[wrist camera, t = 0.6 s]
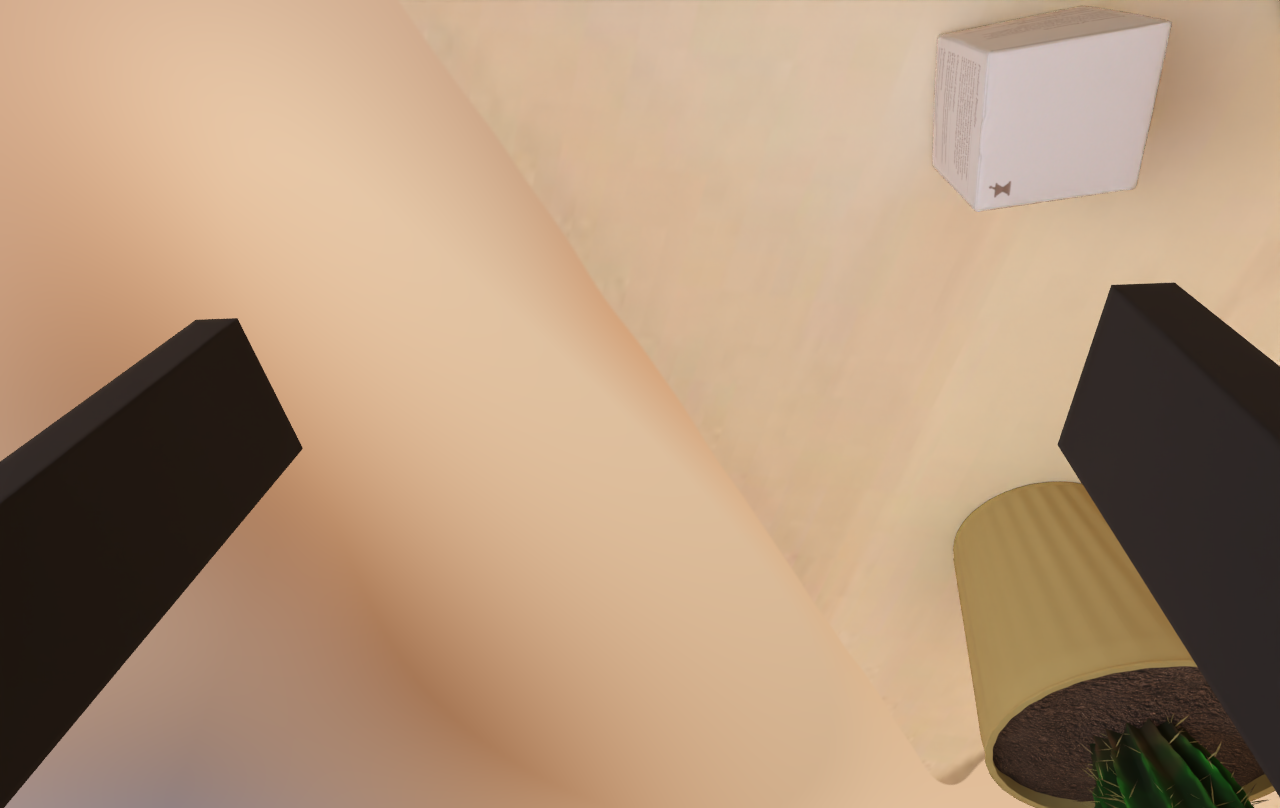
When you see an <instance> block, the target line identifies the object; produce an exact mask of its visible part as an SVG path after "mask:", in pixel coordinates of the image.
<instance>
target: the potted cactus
mask: <svg viewBox="0 0 1280 808" xmlns="http://www.w3.org/2000/svg"><path fill="white" fill-rule="evenodd" d="M953 551H954V565H955V572H956V578H957V585H958V591H959V597H960V604H961V610H962V616H963V623H964V629H965V636H966V642H967V649H968V655H969V661H970V668H971V674H972V681H973V687H974V694H975V700H976V707H977V714H978V721H979V728H980V734H981V740H982V743H983V747H984V751H985V762H986V766H987V768H988V770H989V773H990V775H991V777H992V778H993V779H994V781H996V783H997V784H998V785H999V786H1000V787H1001V788H1002V789H1003V790H1004V791H1006V792H1007V793H1009V794H1010V795H1012V796H1013V797H1014V798H1016V799H1018V800H1019V801H1022V802H1024V803H1026V804H1028V805H1030V806H1033V807H1035V808H1254V807H1253V805H1254V804H1252V805H1251V803H1253V802H1250V801H1253V800H1256V799H1258V798H1261V797H1263V796H1265V795H1268V794H1270V793H1272V792H1274V791H1276V790H1275V789H1274V787H1273V786H1272V784H1271V783H1270V781H1269V779H1268V778H1267V776H1266V775H1265V773H1264V771H1263V770H1262V768H1261V767H1260V765H1259V764H1258V762H1257V760H1256V759H1255V757H1254V756H1253V754H1252V752H1251V751H1250V749H1249V748H1248V746H1247V744H1246V743H1245V741H1244V740H1243V738H1242V737H1241V735H1240V733H1239V732H1238V730H1237V729H1236V727H1235V725H1234V724H1233V722H1232V721H1231V719H1230V718H1229V716H1228V714H1227V713H1226V711H1225V710H1224V708H1223V706H1222V705H1221V703H1220V702H1219V700H1218V698H1217V697H1216V695H1215V694H1214V692H1213V691H1212V689H1211V687H1210V686H1209V684H1208V683H1207V681H1206V679H1205V678H1204V676H1203V675H1202V673H1201V672H1200V670H1199V668H1198V667H1197V665H1196V664H1195V662H1194V660H1193V659H1192V657H1191V656H1190V654H1189V652H1188V651H1187V649H1186V648H1185V646H1184V645H1183V643H1182V641H1181V640H1180V638H1179V637H1178V635H1177V633H1176V632H1175V630H1174V629H1173V627H1172V626H1171V624H1170V622H1169V621H1168V619H1167V618H1166V616H1165V614H1164V613H1163V611H1162V610H1161V608H1160V606H1159V605H1158V603H1157V602H1156V600H1155V599H1154V597H1153V595H1152V594H1151V592H1150V591H1149V589H1148V587H1147V586H1146V584H1145V583H1144V581H1143V580H1142V578H1141V576H1140V575H1139V573H1138V572H1137V570H1136V568H1135V567H1134V565H1133V564H1132V562H1131V560H1130V559H1129V557H1128V556H1127V554H1126V553H1125V551H1124V549H1123V548H1122V546H1121V545H1120V543H1119V541H1118V540H1117V538H1116V537H1115V535H1114V534H1113V532H1112V530H1111V529H1110V527H1109V526H1108V524H1107V522H1106V521H1105V519H1104V518H1103V516H1102V514H1101V513H1100V511H1099V510H1098V508H1097V507H1096V505H1095V503H1094V502H1093V500H1092V499H1091V497H1090V495H1089V494H1088V492H1087V491H1086V489H1085V487H1084V486H1083V484H1078V483H1072V482H1046V483H1037V484H1031V485H1027V486H1023V487H1019V488H1016V489H1013V490H1010V491H1007V492H1005V493H1002V494H1000V495H998V496H996V497H994V498H992V499H991V500H989V501H987V502H985V503H984V504H982V505H981V506H980V507H978V508H977V509H976V510H975V511H974V512H972V513H971V514H970V515H969V516H968V518H967V519H966V520H965V521H964V522H963V524H962V525H961V527H960V528H959V530H958V532H957V534H956V537H955V541H954V548H953ZM1262 801H1267V800H1262ZM1255 802H1259V803H1261V801H1255ZM1255 804H1258V803H1255Z"/></svg>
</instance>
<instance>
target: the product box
mask: <svg viewBox="0 0 1280 808" xmlns="http://www.w3.org/2000/svg"><path fill="white" fill-rule="evenodd" d="M1171 26H1172V22H1171V21H1169V20H1164V19H1159V18H1153V17H1149V16H1144V15H1138V14H1133V13H1127V12H1121V11H1115V10H1109V9H1102V8H1096V7H1090V6H1078V7H1073V8H1068V9H1063V10H1058V11H1053V12H1048V13H1043V14H1038V15H1034V16H1029V17H1024V18H1019V19H1014V20H1009V21H1004V22H1000V23H995V24H990V25H985V26H980V27H976V28H971V29H966V30H961V31H956V32H951V33H946V34H941V35H939V36H938V38H937V55H936V74H935V96H934V124H933V161H932V164H933V167H934V168H935V169H936V170H937V171H938V172H939V173H940V174H941V175H942V176H943V178H944V179H945V180H946V181H947V182H948V183H949V184H950V185H951V186H952V187H953V188H954V189H955V190H956V191H957V192H958V193H959V194H960V195H961V197H962V198H963V199H964V200H965V201H966V202H967V203H968V204H969V205H970V206H971V207H972V208H973V209H974V210H975V211H977V212H980V211H986V210H993V209H1000V208H1007V207H1014V206H1020V205H1027V204H1034V203H1041V202H1048V201H1055V200H1062V199H1069V198H1076V197H1082V196H1089V195H1096V194H1103V193H1109V192H1116V191H1123V190H1131V189H1134V188H1135V187H1136V186H1137V182H1138V177H1139V172H1140V167H1141V162H1142V158H1143V154H1144V149H1145V145H1146V140H1147V136H1148V132H1149V127H1150V122H1151V118H1152V114H1153V109H1154V104H1155V99H1156V95H1157V90H1158V86H1159V81H1160V77H1161V72H1162V67H1163V63H1164V58H1165V53H1166V48H1167V44H1168V39H1169V35H1170V30H1171Z"/></svg>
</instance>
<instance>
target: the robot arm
mask: <svg viewBox="0 0 1280 808" xmlns="http://www.w3.org/2000/svg"><path fill="white" fill-rule="evenodd" d="M1058 446H1059V448H1060V449H1061V451H1062V453H1063V454H1064V456H1065V457H1066V459H1067V461H1068V462H1069V464H1070V465H1071V467H1072V468H1073V470H1074V472H1075V473H1076V475H1077V476H1078V478H1079V480H1080V481H1081V483H1082V484H1083V486H1084V487H1085V489H1086V491H1087V492H1088V494H1089V495H1090V497H1091V499H1092V500H1093V502H1094V503H1095V505H1096V507H1097V508H1098V510H1099V511H1100V513H1101V514H1102V516H1103V518H1104V519H1105V521H1106V522H1107V524H1108V526H1109V527H1110V529H1111V530H1112V532H1113V534H1114V535H1115V537H1116V538H1117V540H1118V541H1119V543H1120V545H1121V546H1122V548H1123V549H1124V551H1125V553H1126V554H1127V556H1128V557H1129V559H1130V560H1131V562H1132V564H1133V565H1134V567H1135V568H1136V570H1137V572H1138V573H1139V575H1140V576H1141V578H1142V580H1143V581H1144V583H1145V584H1146V586H1147V587H1148V589H1149V591H1150V592H1151V594H1152V595H1153V597H1154V599H1155V600H1156V602H1157V603H1158V605H1159V606H1160V608H1161V610H1162V611H1163V613H1164V614H1165V616H1166V618H1167V619H1168V621H1169V622H1170V624H1171V626H1172V627H1173V629H1174V630H1175V632H1176V633H1177V635H1178V637H1179V638H1180V640H1181V641H1182V643H1183V645H1184V646H1185V648H1186V649H1187V651H1188V652H1189V654H1190V656H1191V657H1192V659H1193V660H1194V662H1195V664H1196V665H1197V667H1198V668H1199V670H1200V672H1201V673H1202V675H1203V676H1204V678H1205V679H1206V681H1207V683H1208V684H1209V686H1210V687H1211V689H1212V691H1213V692H1214V694H1215V695H1216V697H1217V698H1218V700H1219V702H1220V703H1221V705H1222V706H1223V708H1224V710H1225V711H1226V713H1227V714H1228V716H1229V718H1230V719H1231V721H1232V722H1233V724H1234V725H1235V727H1236V729H1237V730H1238V732H1239V733H1240V735H1241V737H1242V738H1243V740H1244V741H1245V743H1246V744H1247V746H1248V748H1249V749H1250V751H1251V752H1252V754H1253V756H1254V757H1255V759H1256V760H1257V762H1258V764H1259V765H1260V767H1261V768H1262V770H1263V771H1264V773H1265V775H1266V776H1267V778H1268V779H1269V781H1270V783H1271V784H1272V786H1273V787H1274V789H1275V790H1276V792H1277V794H1278V795H1279V797H1280V366H1278V365H1277V364H1276V363H1275V362H1273V361H1272V360H1271V359H1270V358H1268V357H1267V356H1266V355H1265V354H1263V353H1262V352H1261V351H1260V350H1258V349H1257V348H1256V347H1255V346H1253V345H1252V344H1251V343H1250V342H1248V341H1247V340H1246V339H1245V338H1243V337H1242V336H1241V335H1240V334H1238V333H1237V332H1236V331H1235V330H1233V329H1232V328H1231V327H1230V326H1228V325H1227V324H1226V323H1225V322H1223V321H1222V320H1221V319H1219V318H1218V317H1217V316H1216V315H1214V314H1213V313H1212V312H1211V311H1209V310H1208V309H1207V308H1206V307H1204V306H1203V305H1202V304H1201V303H1199V302H1198V301H1197V300H1196V299H1194V298H1193V297H1192V296H1191V295H1189V294H1188V293H1187V292H1186V291H1184V290H1183V289H1182V288H1181V287H1179V286H1178V285H1177V284H1176V283H1154V284H1128V285H1111V288H1110V291H1109V294H1108V297H1107V300H1106V303H1105V306H1104V309H1103V312H1102V315H1101V318H1100V321H1099V324H1098V326H1097V329H1096V332H1095V335H1094V338H1093V341H1092V344H1091V347H1090V350H1089V353H1088V356H1087V359H1086V362H1085V365H1084V368H1083V371H1082V374H1081V377H1080V380H1079V383H1078V386H1077V389H1076V392H1075V395H1074V398H1073V401H1072V404H1071V406H1070V409H1069V412H1068V415H1067V418H1066V421H1065V424H1064V427H1063V430H1062V433H1061V436H1060V439H1059V442H1058ZM301 450H302V446H301V444H300V442H299V440H298V438H297V436H296V434H295V432H294V430H293V428H292V426H291V424H290V422H289V420H288V418H287V416H286V414H285V412H284V410H283V408H282V406H281V404H280V402H279V400H278V398H277V396H276V394H275V392H274V390H273V388H272V386H271V384H270V382H269V380H268V378H267V376H266V374H265V373H264V370H263V368H262V366H261V365H260V363H259V360H258V358H257V357H256V355H255V353H254V351H253V349H252V347H251V345H250V343H249V341H248V339H247V337H246V335H245V333H244V331H243V329H242V327H241V325H240V323H239V321H238V319H237V318H235V319H208V320H195V321H194V322H192V323H191V324H190V325H188V326H187V327H186V328H184V329H183V330H181V331H180V332H179V333H177V334H176V335H175V336H173V337H172V338H170V339H169V340H168V341H166V342H165V343H164V344H162V345H161V346H159V347H158V348H157V349H155V350H154V351H152V352H151V353H150V354H148V355H147V356H146V357H144V358H143V359H141V360H140V361H139V362H137V363H136V364H135V365H133V366H132V367H130V368H129V369H128V370H126V371H125V372H123V373H122V374H121V375H120V376H118V377H117V378H115V379H114V380H113V381H111V382H110V383H108V384H107V385H106V386H104V387H103V388H102V389H100V390H99V391H97V392H96V393H95V394H93V395H92V396H90V397H89V398H88V399H86V400H85V401H84V402H82V403H81V404H79V405H78V406H77V407H75V408H74V409H72V410H71V411H70V412H68V413H67V414H66V415H64V416H63V417H61V418H60V419H59V420H57V421H56V422H54V423H53V424H52V425H50V426H49V427H48V428H46V429H45V430H43V431H42V432H41V433H40V434H38V435H36V436H35V437H34V438H33V439H31V440H30V441H28V442H27V443H25V444H24V445H23V446H21V447H20V448H19V449H17V450H16V451H15V452H13V453H12V454H10V455H9V456H7V457H6V458H5V459H3V460H2V461H1V462H0V808H4V807H5V806H6V805H7V803H8V802H9V801H10V800H11V798H12V797H13V796H14V795H15V794H16V793H17V791H18V790H19V789H20V788H21V787H22V785H23V784H24V783H25V782H26V781H27V779H28V778H29V777H30V776H31V774H32V773H33V772H34V771H35V770H36V769H37V767H38V766H39V765H40V764H41V763H42V761H43V760H44V759H45V757H47V755H48V754H49V753H50V752H51V751H52V749H53V748H54V747H55V746H56V745H57V743H58V742H59V741H60V740H61V739H62V737H63V736H64V735H65V734H66V732H67V731H68V730H69V729H70V728H71V726H72V725H73V724H74V723H75V722H76V721H77V719H78V718H79V717H80V716H81V715H82V713H83V712H84V711H85V710H86V709H87V707H88V706H89V705H90V704H91V702H92V701H93V700H94V699H95V698H96V696H97V695H98V694H99V693H100V692H101V690H102V689H103V688H104V687H105V686H106V684H107V683H108V682H109V681H110V680H111V678H112V677H113V676H114V675H115V674H116V672H117V671H118V670H119V669H120V668H121V666H122V665H123V664H124V663H125V661H126V660H127V659H128V658H129V657H130V656H131V654H132V653H133V652H134V650H136V648H137V647H138V646H139V645H140V644H141V642H142V641H143V640H144V638H146V636H147V635H148V634H149V633H150V631H151V630H152V629H153V628H154V627H155V626H156V624H157V623H158V622H159V621H160V620H161V618H162V617H163V616H164V615H165V614H166V612H167V611H168V610H169V609H170V608H171V606H172V605H173V604H174V603H175V601H176V600H177V599H178V598H179V597H180V595H181V594H182V593H183V592H184V591H185V589H186V588H187V587H188V586H189V584H190V583H191V582H192V581H193V580H194V579H195V577H196V576H197V575H198V574H199V573H200V571H201V570H202V569H203V568H204V567H205V565H206V564H207V563H208V562H209V560H210V559H211V558H212V557H213V556H214V555H215V553H216V552H217V551H218V550H219V549H220V547H221V546H222V545H223V544H224V543H225V541H226V540H227V539H228V538H229V536H230V535H231V534H232V533H233V532H234V531H235V529H236V528H237V527H238V526H239V525H240V523H241V522H242V521H243V520H244V519H245V517H246V516H247V515H248V514H249V513H250V511H251V510H252V509H253V508H254V507H255V505H256V504H257V503H258V502H259V500H260V499H261V498H262V497H263V496H264V494H265V493H266V492H267V491H268V490H269V488H270V487H271V486H272V485H273V484H274V482H275V481H276V480H277V479H278V478H279V476H280V475H281V474H282V473H283V472H284V470H285V469H286V468H287V467H288V466H289V464H290V463H291V462H292V461H293V460H294V458H295V457H296V456H297V455H298V453H299V452H300V451H301Z"/></svg>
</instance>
